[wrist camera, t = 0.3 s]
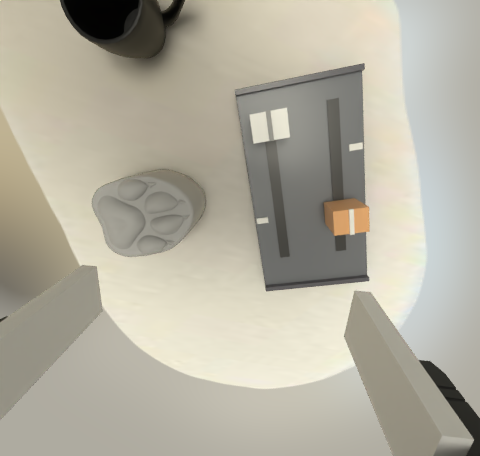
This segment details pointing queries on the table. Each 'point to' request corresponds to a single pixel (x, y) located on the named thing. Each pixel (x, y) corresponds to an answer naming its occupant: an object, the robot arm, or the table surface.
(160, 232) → the lumpy-topped squat cylinder
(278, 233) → the console
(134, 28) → the mug
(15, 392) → the robot arm
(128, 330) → the table surface
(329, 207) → the fader
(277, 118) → the fader
